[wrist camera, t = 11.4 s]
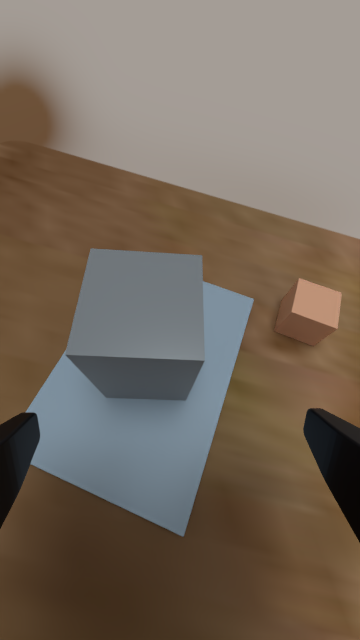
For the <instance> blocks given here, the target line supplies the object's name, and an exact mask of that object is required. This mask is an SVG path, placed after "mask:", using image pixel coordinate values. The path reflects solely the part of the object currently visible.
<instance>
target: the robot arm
mask: <svg viewBox="0 0 360 640" xmlns="http://www.w3.org/2000/svg"><path fill="white" fill-rule="evenodd" d="M304 435H305V438H306V440H307V442H308V445H309V447H310V449H311V451H312V453H313V456H314V458H315V460H316V462H317V465H318V467H319V469H320V471H321V473H322V475H323V477H324V480H325V481H326V483H327V485H328V487H329V489H330V491H331V492H332V494H333V496H334V498H335V500H336V501H337V503H338V505H339V507H340V508H341V510H342V512H343V514H344V516H345V517H346V519H347V521H348V523H349V524H350V526H351V528H352V530H353V531H354V533H355V535H356V537H357V539H358V540H359V542H360V428H358V427H356V426H354V425H352V424H351V423H349V422H347V421H345V420H343V419H341V418H339V417H337V416H335V415H333V414H331V413H329V412H327V411H325V410H323V409H320V408H311V409H308V411H307V414H306V419H305V423H304ZM39 440H40V429H39V422H38V417H37V414H36V413H34V412H24V413H20V414H19V415H17V416H15V417H13V418H12V419H10V420H8V421H6V422H4V423H3V424H1V425H0V528H1V526H2V524H3V522H4V520H5V519H6V517H7V515H8V513H9V511H10V509H11V507H12V505H13V503H14V501H15V499H16V497H17V495H18V493H19V491H20V488H21V486H22V484H23V481H24V479H25V476H26V474H27V471H28V468H29V466H30V463H31V461H32V458H33V456H34V453H35V451H36V448H37V446H38V443H39Z"/></svg>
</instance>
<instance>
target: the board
mask: <svg viewBox="0 0 360 640" xmlns="http://www.w3.org/2000/svg"><path fill="white" fill-rule="evenodd" d="M253 300H254V299H252V298H249V297H246V296H243V295H240V294H238V293H235V292H232V291H229V290H226V289H224V288H221V287H218V286H215V285H212V284H209V283H207V282H204V281H203V309H204V349H205V361H204V363H203V366H202V368H201V370H200V372H199V374H198V376H197V378H196V380H195V383H194V385H193V387H192V389H191V391H190V393H189V395H188V397H187V400H186V401H185V400H156V399H126V398H106V397H105V396H104V395H103V394H102V393H101V392H100V391H99V390H98V389H97V388H96V387H95V386H94V385H93V383H92V382H91V381H90V380H89V379H88V378H87V377H86V376H85V375H84V374H83V373H82V372H81V371H80V370H79V369H78V368H77V367H76V366H75V365H74V364H73V363H72V361H71V360H70V359H69V358H68V357H67V356H66V355H65V353H66V351H65V352H64V354H63V356H62V357H61V359H60V360H59V362H58V363H57V365H56V366H55V368H54V369H53V371H52V372H51V374H50V376H49V377H48V379H47V380H46V382H45V383H44V385H43V386H42V388H41V389H40V391H39V393H38V394H37V396H36V397H35V399H34V400H33V402H32V403H31V405H30V406H29V408H28V410H27V411H26V412H34V413H36V414H37V417H38V422H39V429H40V440H39V443H38V446H37V448H36V451H35V453H34V456H33V458H32V461H31V463H30V464H32V465H34V466H36V467H38V468H40V469H42V470H44V471H46V472H48V473H50V474H53V475H55V476H57V477H59V478H61V479H63V480H65V481H67V482H69V483H71V484H74V485H76V486H78V487H80V488H82V489H84V490H86V491H88V492H90V493H92V494H95V495H97V496H99V497H101V498H103V499H105V500H107V501H109V502H111V503H113V504H115V505H118V506H120V507H122V508H124V509H126V510H128V511H130V512H132V513H134V514H136V515H139V516H141V517H143V518H145V519H147V520H149V521H151V522H153V523H155V524H157V525H160V526H162V527H164V528H166V529H168V530H170V531H172V532H174V533H176V534H178V535H180V536H183V537H184V534H185V530H186V527H187V524H188V520H189V517H190V513H191V510H192V507H193V503H194V500H195V497H196V493H197V490H198V486H199V483H200V480H201V476H202V473H203V469H204V466H205V463H206V459H207V456H208V453H209V449H210V446H211V442H212V439H213V436H214V432H215V429H216V426H217V422H218V419H219V415H220V412H221V409H222V405H223V402H224V398H225V395H226V392H227V388H228V385H229V382H230V378H231V375H232V371H233V368H234V365H235V361H236V358H237V354H238V351H239V348H240V344H241V341H242V338H243V334H244V331H245V327H246V324H247V321H248V317H249V314H250V311H251V307H252V304H253Z"/></svg>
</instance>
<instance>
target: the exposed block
mask: <svg viewBox="0 0 360 640" xmlns="http://www.w3.org/2000/svg"><path fill="white" fill-rule="evenodd" d="M341 294H342V293H340V292H337V291H334V290H332V289H329V288H326V287H323V286H320V285H317V284H314V283H312V282H309V281H306V280H303V279H300V278H299V279H298V280H297V281H296V283H295V284H294V285H293V287H292V288H291V289H290V290H289V292H288V293H287V294H286V295H285V297H284V298H283V299H282V301H281V305H280V309H279V313H278V317H277V321H276V325H275V329H274V331H275V332H277V333H280V334H283V335H285V336H288V337H290V338H293V339H296V340H298V341H301V342H304V343H306V344H309V345H312V346H314V345H315V344H317V343H318V342H320V341H321V340H322V339H324V338H325V337H327V336H328V335H330V334H331V333H332V332H334V331H335V330H337V329H338V320H339V312H340V303H341Z"/></svg>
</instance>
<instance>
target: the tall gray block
mask: <svg viewBox="0 0 360 640" xmlns="http://www.w3.org/2000/svg"><path fill="white" fill-rule="evenodd" d="M65 355H66V356H67V357H68V358H69V359H70V360H71V361H72V363H73V364H74V365H75V366H76V367H77V368H78V369H79V370H80V371H81V372H82V373H83V374H84V375H85V376H86V377H87V378H88V379H89V380H90V381H91V382H92V383H93V385H94V386H95V387H96V388H97V389H98V390H99V391H100V392H101V393H102V394H103V395H104V396H105V397H106V398H126V399H156V400H185V401H186V400H187V397H188V395H189V393H190V391H191V389H192V387H193V385H194V383H195V380H196V378H197V376H198V374H199V372H200V370H201V368H202V366H203V363H204V361H205V349H204V309H203V270H202V255H186V254H170V253H154V252H138V251H122V250H106V249H91V250H90V254H89V258H88V262H87V266H86V270H85V274H84V279H83V283H82V287H81V291H80V295H79V299H78V303H77V308H76V312H75V316H74V320H73V324H72V328H71V332H70V337H69V341H68V345H67V349H66V353H65Z"/></svg>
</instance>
